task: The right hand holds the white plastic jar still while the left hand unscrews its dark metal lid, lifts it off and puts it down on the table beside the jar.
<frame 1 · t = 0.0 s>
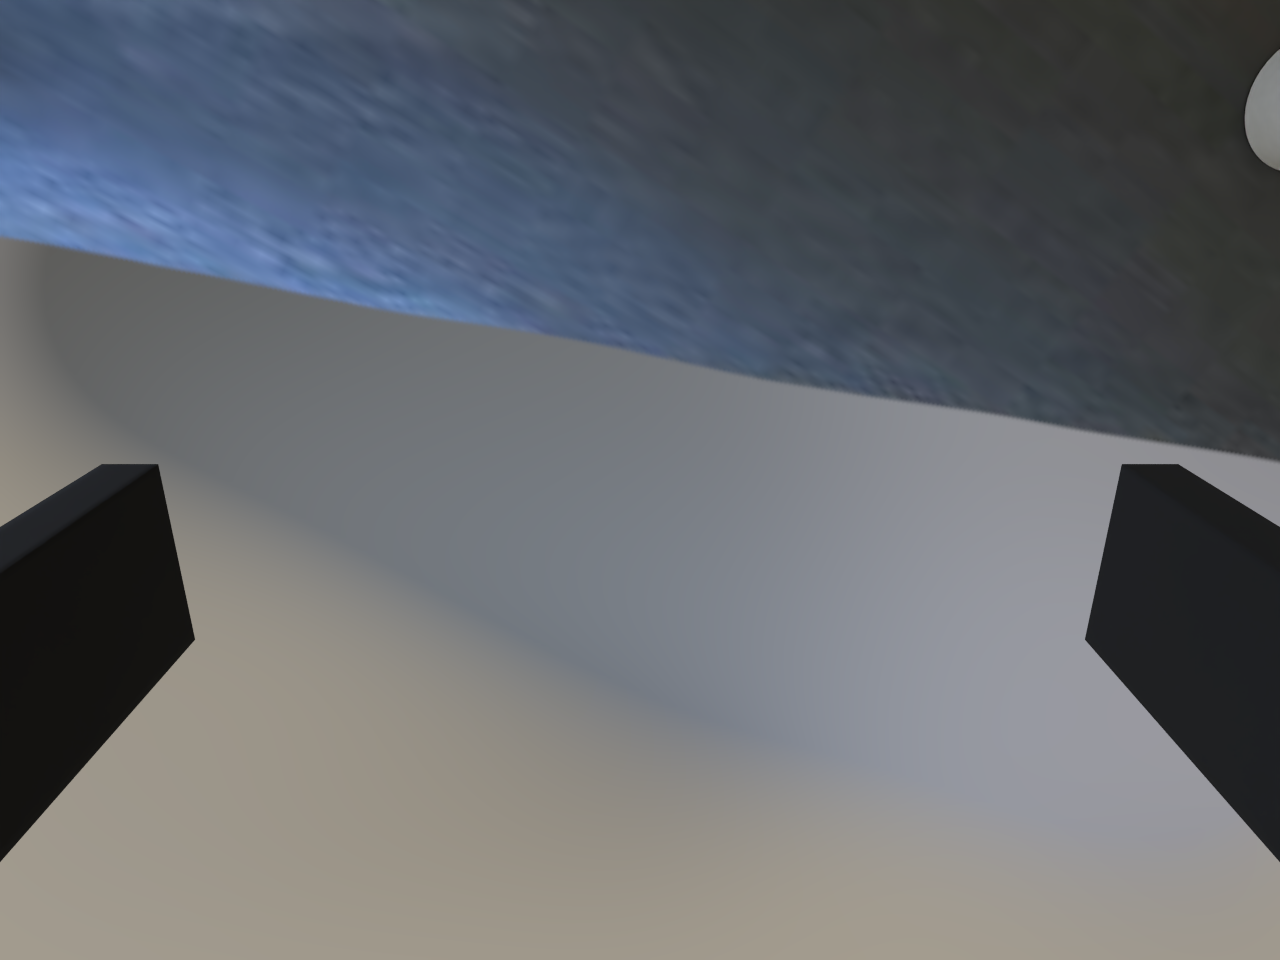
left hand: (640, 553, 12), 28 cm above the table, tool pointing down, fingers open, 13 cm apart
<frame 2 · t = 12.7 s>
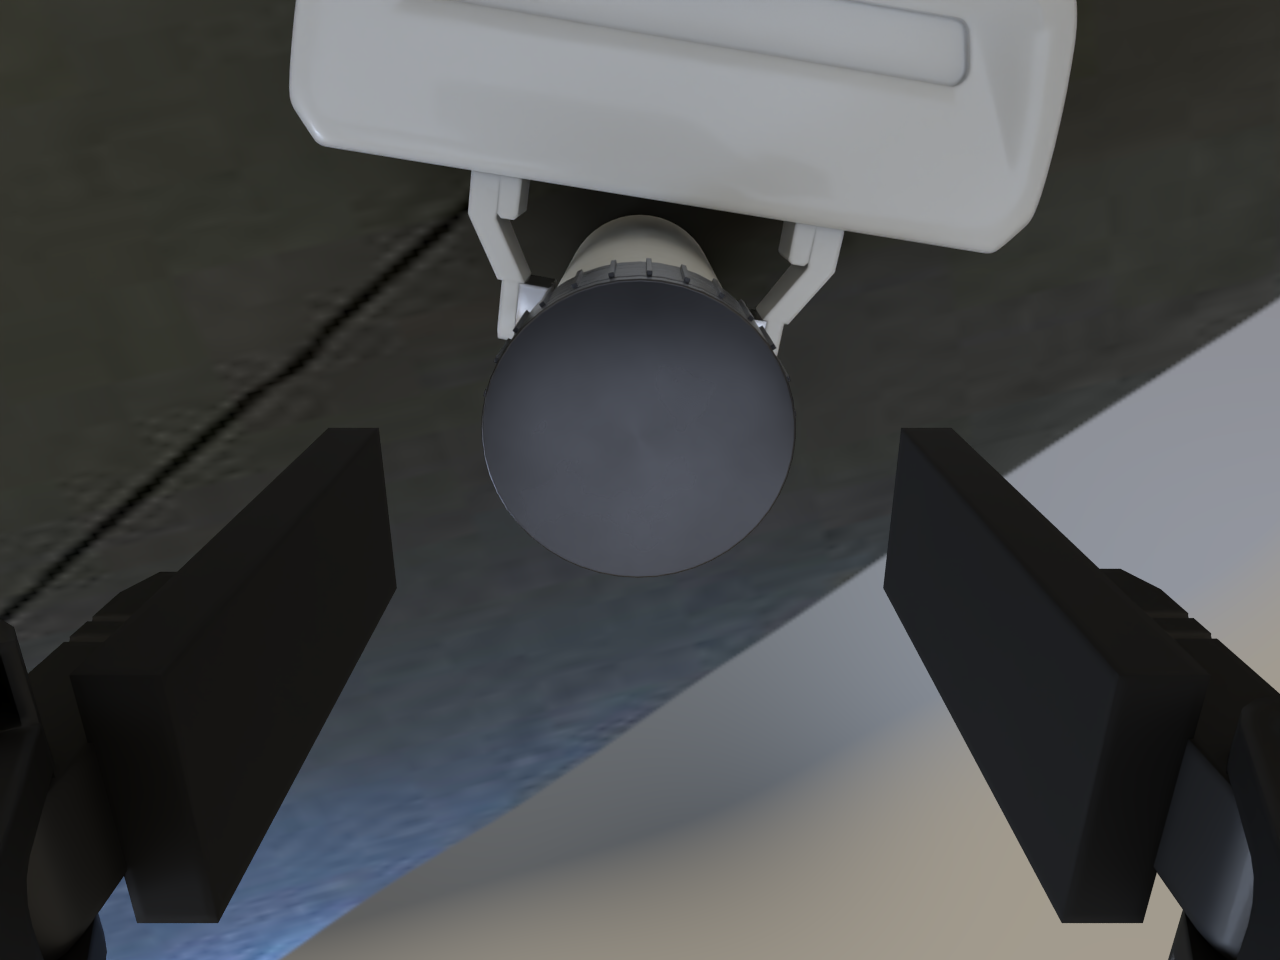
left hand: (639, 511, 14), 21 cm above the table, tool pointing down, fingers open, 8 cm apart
right hand: (636, 355, 27), fingers closed on jar, 5 cm apart
lid: (638, 432, 17), point 17 cm above the table, screwed on, not yet turned
jar: (639, 290, 33), on the table, touching right hand
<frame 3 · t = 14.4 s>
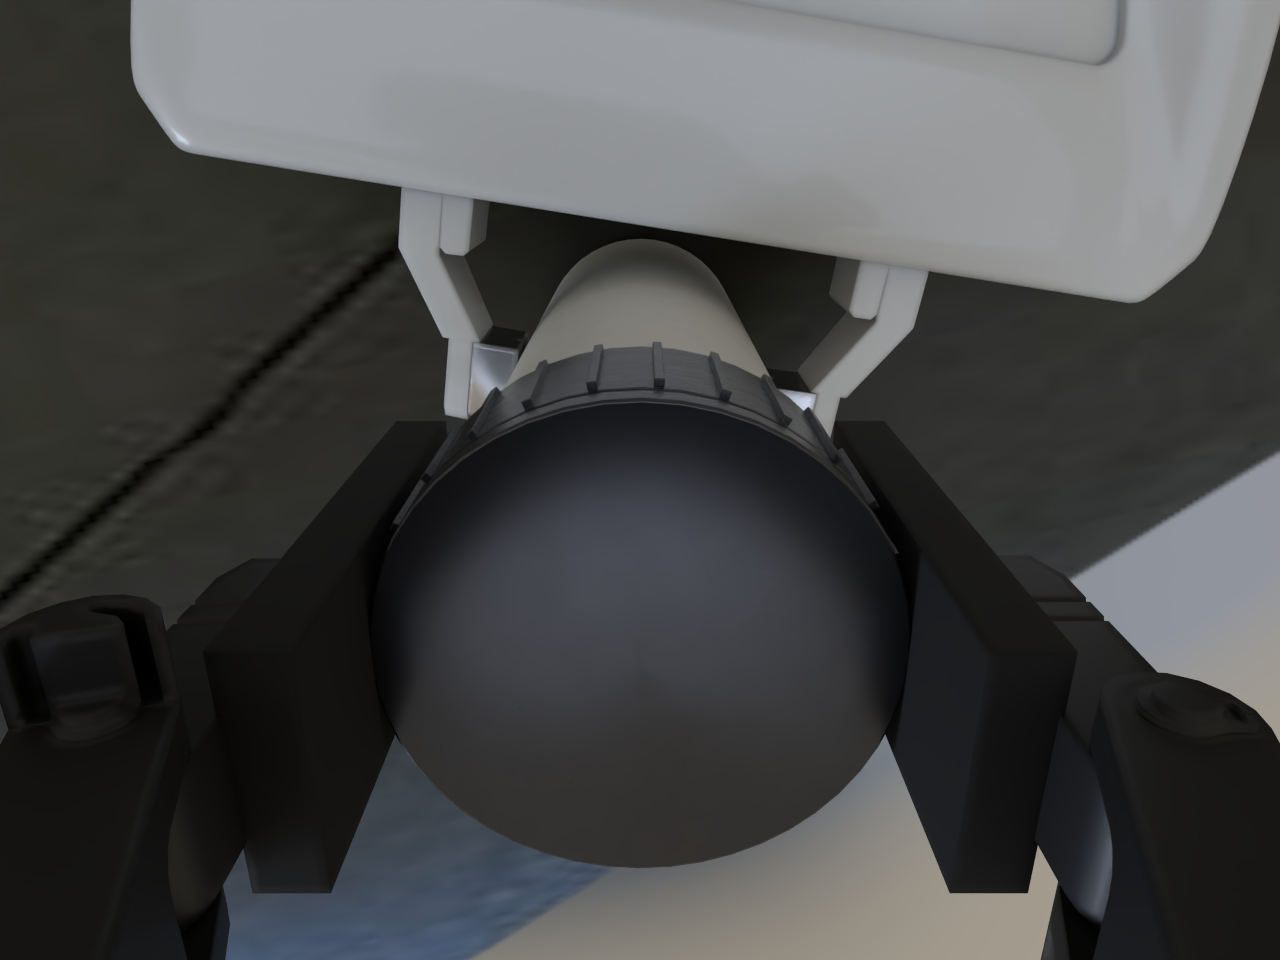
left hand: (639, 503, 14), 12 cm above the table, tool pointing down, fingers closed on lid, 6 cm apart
lid: (640, 643, 10), point 17 cm above the table, screwed on, not yet turned, touching left hand
jar: (640, 335, 26), on the table, touching right hand
when the left hand's fingers open (0 cm above the table, at t = 31.6 s): lid drops 2 cm, point 2 cm above the table.
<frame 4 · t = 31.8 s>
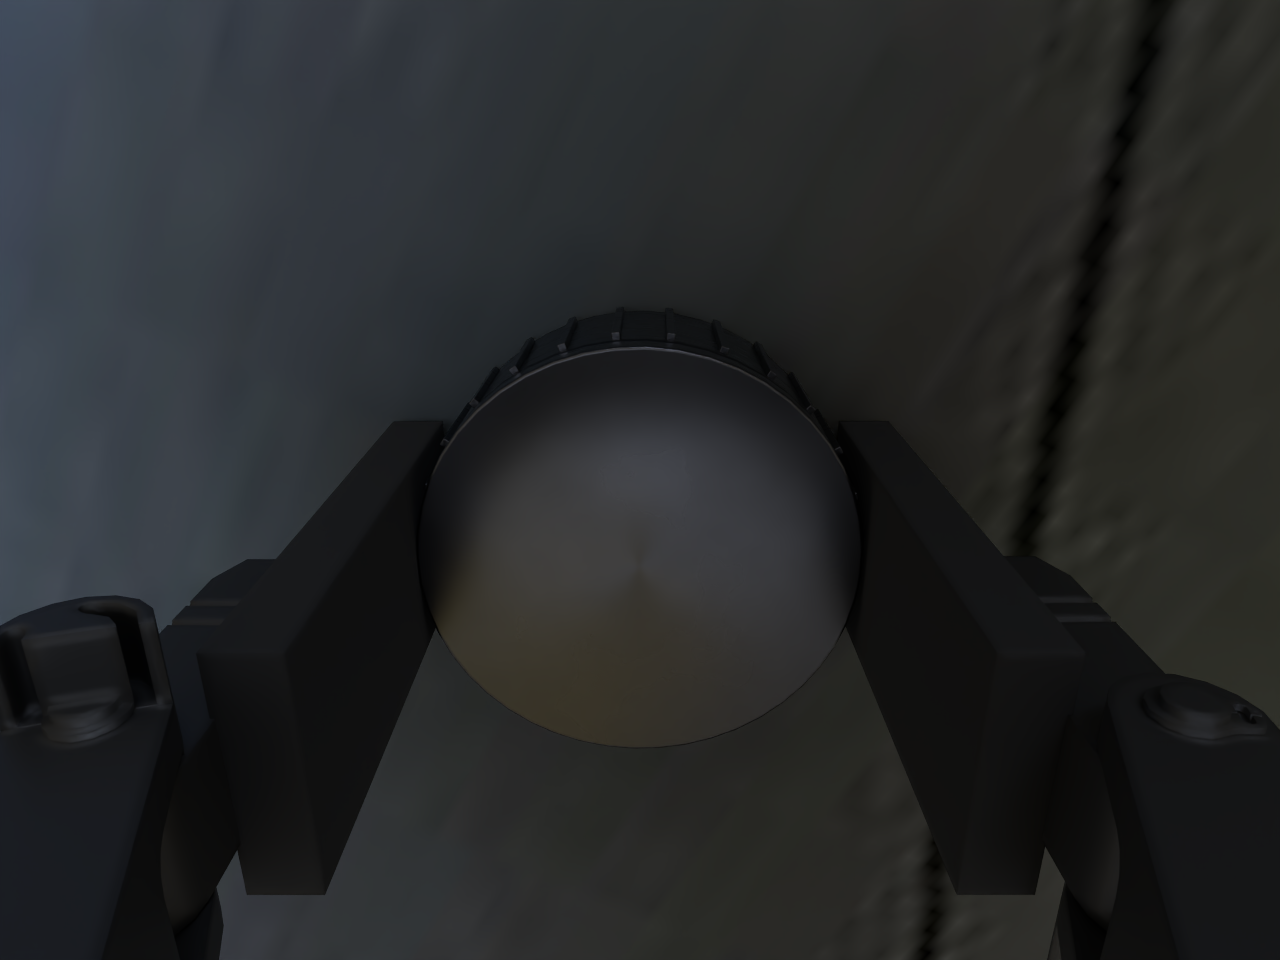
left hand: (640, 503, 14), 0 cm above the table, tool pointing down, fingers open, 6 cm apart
lid: (639, 554, 12), point 2 cm above the table, off its thread, touching left hand
when the right hand's fingers open (7 cm above the table, at t = 33.2 s): jar stays where it is, on the table.
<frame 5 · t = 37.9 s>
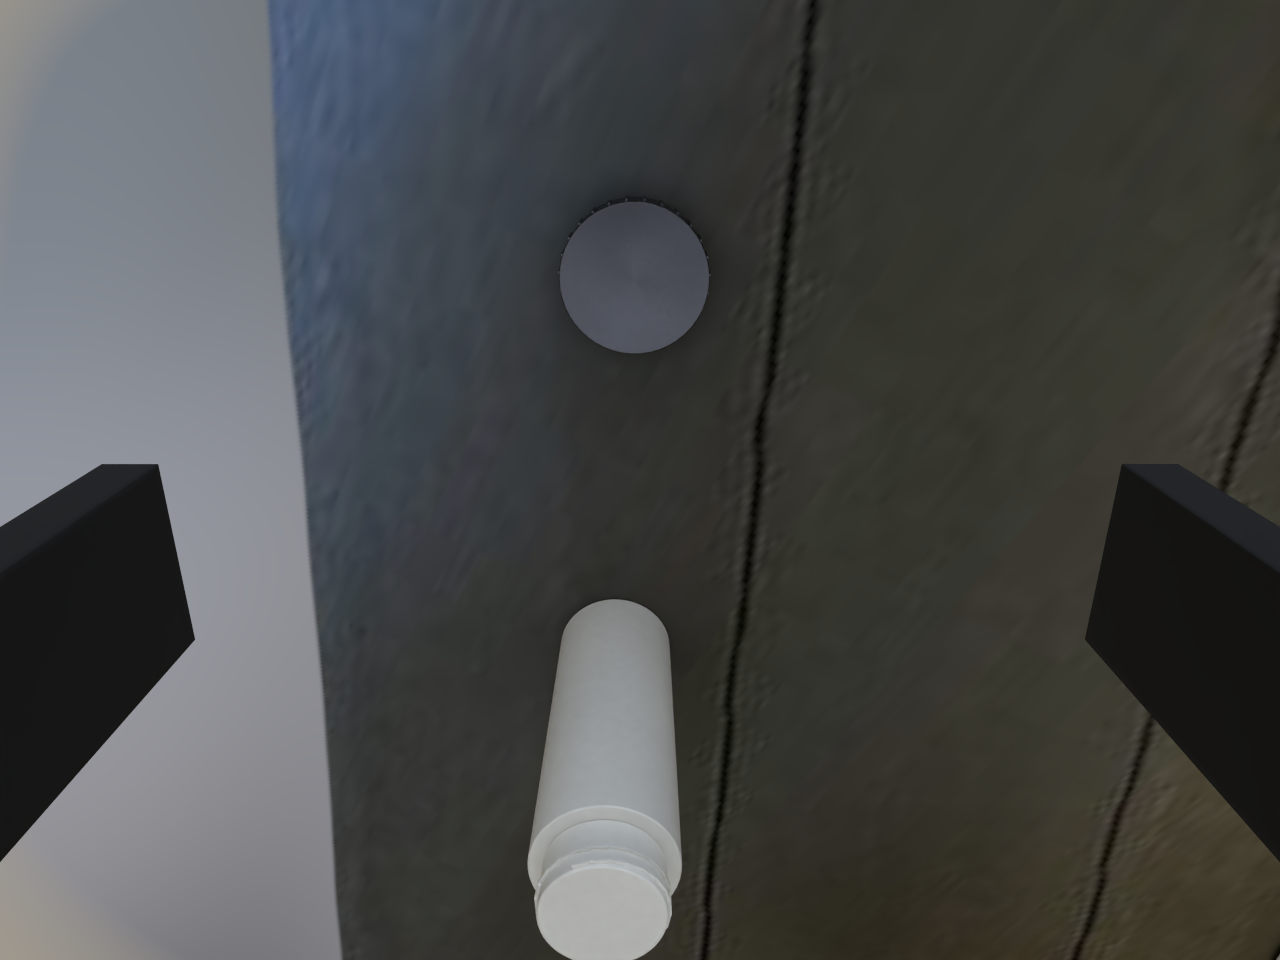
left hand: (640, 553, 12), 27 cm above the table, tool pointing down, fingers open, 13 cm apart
lid: (634, 278, 36), point 2 cm above the table, off its thread
jar: (615, 646, 45), on the table
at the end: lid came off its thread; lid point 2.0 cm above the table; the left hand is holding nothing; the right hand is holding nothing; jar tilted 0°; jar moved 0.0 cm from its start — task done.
